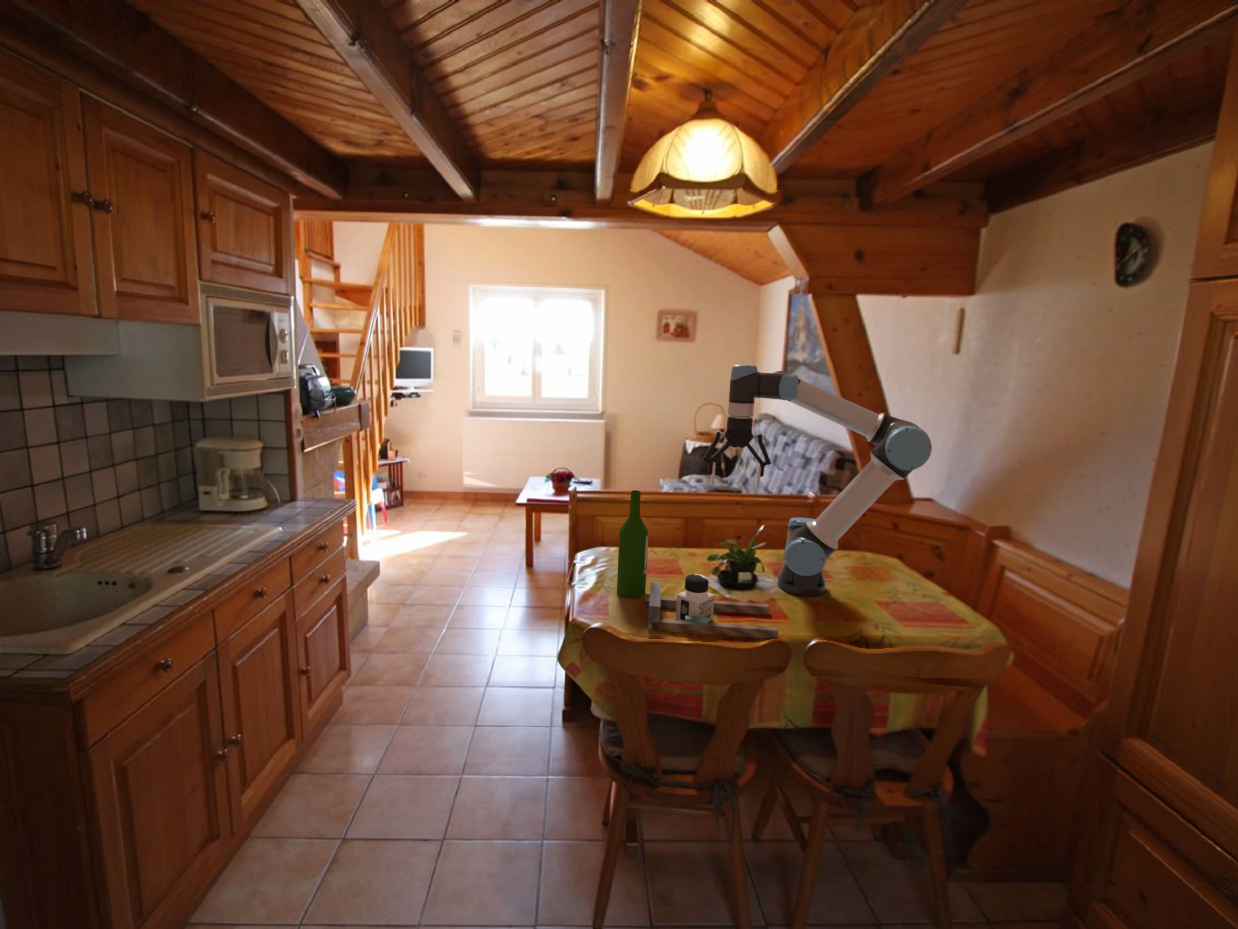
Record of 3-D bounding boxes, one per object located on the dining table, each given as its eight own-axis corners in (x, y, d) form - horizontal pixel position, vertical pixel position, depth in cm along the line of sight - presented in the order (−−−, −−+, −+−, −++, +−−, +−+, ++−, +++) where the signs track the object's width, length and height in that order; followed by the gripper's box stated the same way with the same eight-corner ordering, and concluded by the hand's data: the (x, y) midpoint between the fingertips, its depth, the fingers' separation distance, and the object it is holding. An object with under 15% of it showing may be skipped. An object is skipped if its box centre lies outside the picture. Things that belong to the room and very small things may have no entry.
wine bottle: (648, 598, 193) (653, 495, 186) (619, 598, 192) (623, 495, 185) (642, 586, 202) (647, 487, 195) (614, 587, 200) (618, 487, 194)
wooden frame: (767, 612, 187) (769, 590, 185) (777, 639, 170) (779, 615, 169) (645, 603, 189) (646, 581, 188) (643, 629, 172) (644, 605, 171)
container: (697, 628, 174) (700, 584, 172) (675, 619, 179) (677, 576, 177) (713, 619, 180) (716, 577, 177) (690, 611, 185) (693, 569, 182)
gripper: (780, 417, 192) (773, 484, 196) (697, 413, 194) (693, 480, 198) (784, 420, 185) (778, 490, 189) (699, 416, 186) (694, 485, 191)
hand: (734, 485), depth 193 cm, fingers open, 13 cm apart
